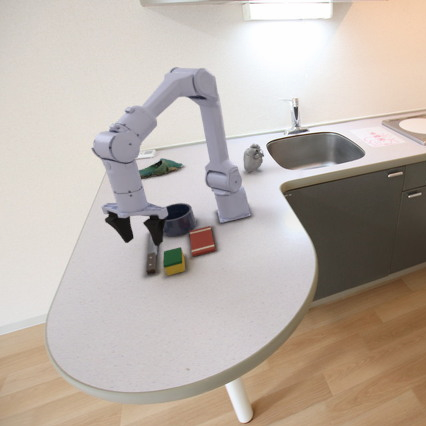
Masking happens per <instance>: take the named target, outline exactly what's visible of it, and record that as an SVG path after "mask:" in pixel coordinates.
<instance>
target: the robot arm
mask: <svg viewBox="0 0 426 426" xmlns="http://www.w3.org/2000/svg"><path fill="white" fill-rule="evenodd" d="M178 98H188V99H190V101H192V102H194V103H195V104H196V105H198V107H199V110H200V116H201V122H202V126H203V131H204V137H205V143H206V148H207V154H208V160H209V162H208V163H207V164H206V165H205V166H204V170H205V175H204V182H205V185H206V186H207V187H208V188H210V190H211V192H213V194H214V199H215V203H216V206H217V211H216V212H217V215H218V219H219V223H220V224H223V223H228V222H232V221H236V220H240V219H243V218H248V217H250V216H251V212H250V204H249V201H248V196H247V192H246V189H245V187H244V186H242V184H243V179H242V178H243V177H242V175H241V173H240V171H239V166H238V165H237V164H236V163H235V162H233V161H232V160H231V159H230V157H229V150H228V143H227V137H226V130H225V125H224V117H223V112H222V105H221V97H220V94H219V91H218V86H217V79H216V76H215V75H214V74H213V73H212V72H211V71H210V70H209V69H207V68H205V67H199V68H193V67H192V68H191V67H178V66H175V67H171V68H170V69H169V71H167V73H165V74H163V81H162V82H161V83H160V84H159V85H158V86H157V88H155V90H154V91H153V92H152V93H151V95H150V96H149V97H148V98H147V99H146V100H145V102H143V104H142V105H132V106H126V108H125V109H124V112H125V113H124V114H123V115H122V116H121V117H120V118H119V119H117V121H115V123H111V124H110V125H109V127H108V128H109V129H108V130H105V131H100V132H99V133H98V134H96V136H95V137H94V139H93V142H92V144H93V147H91V148H90V149H91V151H92V153H93V154H94V155H95V156H96V157H97V158H99V159H100V161H101V162H102V165H103V166H104V169H105V172H106V175H107V178H108V182H109V185H110V188H111V191H112V193H113V196H114V199H115V202H107V203H105V204H103V205H101V207H100V208H101V210H102V213H103V215H107V217H105V218H104V221H105V223H106V224H107V225H109V226H110V227H111V228H112V229H114V230H115V232H117V234H118V235H119V236H120V238H121V239H122V240H123V242H124V243H125V244H129V243H130V242H131V241H133V240H134V231H133V229H132V223H131V217H139V216H140V217H149V218H147V219H146V220H145V221H143V222H142V224H143V226H144V227H145V228H146V229H147V230H148V232H149V235H150V234H151V237H152V240H153V243H154V244H155V246H158V247H159V246H160V245H161V244H162V243H163V242H164V234H163V230H164V225H165V222H166V219H167V216H168V212H167V208H166V206H159V205H157V204H153V203H151V202H148V199H147V195H146V191H145V188H144V185H143V182H142V177H140V173H139V170H140V169H139V165H138V162H137V160H136V159H137V158H138V157H139V155H140V150H141V146H142V143H143V142H144V141H145V140H146V139H147V137H149V135H150V134H151V133H152V132H153V131H154V130H155V129H156V128H157V126H158V119H157V118H158V117H159V116H160V115H161V114H162V113H163V112H165V110H167V109H168V108H169V107H170V106H171V105H172V104H173V103H174V102H176V100H178Z"/></svg>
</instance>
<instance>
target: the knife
mask: <svg viewBox="0 0 426 426" xmlns="http://www.w3.org/2000/svg"><path fill="white" fill-rule="evenodd" d="M148 243H149V244H148V251H147V259H146V266H145V267H146V269H145V272H146V274H147V275H148V276H151V275H153V274H156V272H157V257H158V251H159V249H158V248H159V246H155V244H154V243H153V240H152V237H151V234H150V233H149V242H148Z"/></svg>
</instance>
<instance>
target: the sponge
mask: <svg viewBox="0 0 426 426" xmlns="http://www.w3.org/2000/svg"><path fill="white" fill-rule="evenodd" d="M162 263H163V264H162V265H163V266H162V267H163V269H164V271H165V274H166V275H167V276H168V277H169V276H172V275H175V274H179V273H183V272H186V261H185V254H184V252H183V249H182V247H181V246H180V247H176V248H172V249H168V250H165V251H163V262H162Z"/></svg>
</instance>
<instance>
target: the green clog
mask: <svg viewBox="0 0 426 426" xmlns="http://www.w3.org/2000/svg"><path fill="white" fill-rule="evenodd" d="M183 166H184V165H183V163H181V162H176V161H174V160H171V159H168V158H163V157H162V158H160V159H159V160H158V161H157V162H154V163H153V164H150V165H148V166H147V167H144V168H141V169H138V170H139V173H140V177H141V178H145V179H146V178H148V177H150V176H159V175H160V176H161V175H163V174H164V175H167V174H168V173H169V172H171V171H174V170H178V168H181V167H183Z"/></svg>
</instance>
